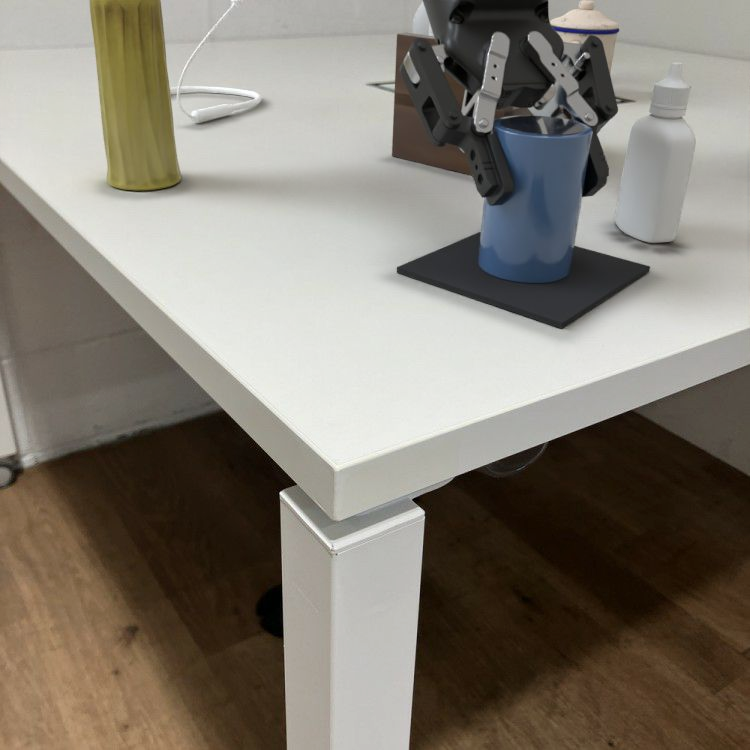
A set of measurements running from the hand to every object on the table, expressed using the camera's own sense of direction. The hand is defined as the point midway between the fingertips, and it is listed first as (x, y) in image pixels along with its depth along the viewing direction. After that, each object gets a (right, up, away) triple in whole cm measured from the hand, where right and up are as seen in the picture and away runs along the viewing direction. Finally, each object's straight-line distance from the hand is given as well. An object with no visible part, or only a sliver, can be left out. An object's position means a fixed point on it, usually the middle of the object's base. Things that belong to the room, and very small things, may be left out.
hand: (549, 194), depth 50 cm
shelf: (0, +11, +31) cm, 33 cm away
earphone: (-32, +20, +46) cm, 59 cm away
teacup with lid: (+16, +26, +60) cm, 67 cm away
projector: (+8, +44, +92) cm, 103 cm away
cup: (-1, -4, +4) cm, 6 cm away
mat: (-1, -4, +4) cm, 6 cm away
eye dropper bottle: (+10, 0, +12) cm, 15 cm away
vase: (-30, +5, +19) cm, 36 cm away
